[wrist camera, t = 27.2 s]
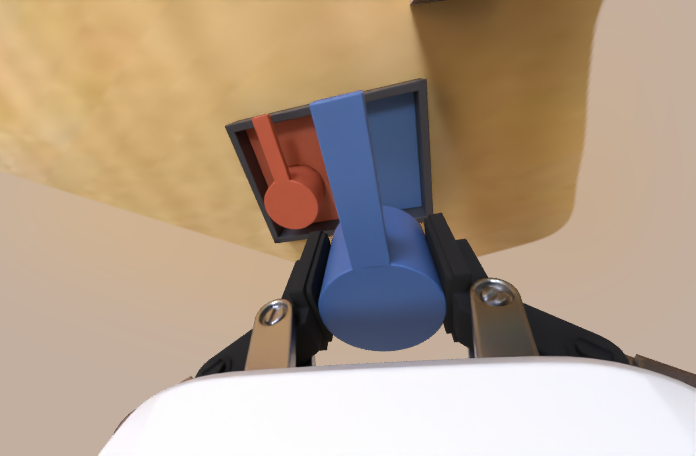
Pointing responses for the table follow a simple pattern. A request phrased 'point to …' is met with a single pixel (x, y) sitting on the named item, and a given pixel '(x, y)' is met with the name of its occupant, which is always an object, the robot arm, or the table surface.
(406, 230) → the scoop blue
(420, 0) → the cake mix box
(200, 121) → the table surface
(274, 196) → the scoop terracotta
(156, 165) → the table surface
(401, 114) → the tray
